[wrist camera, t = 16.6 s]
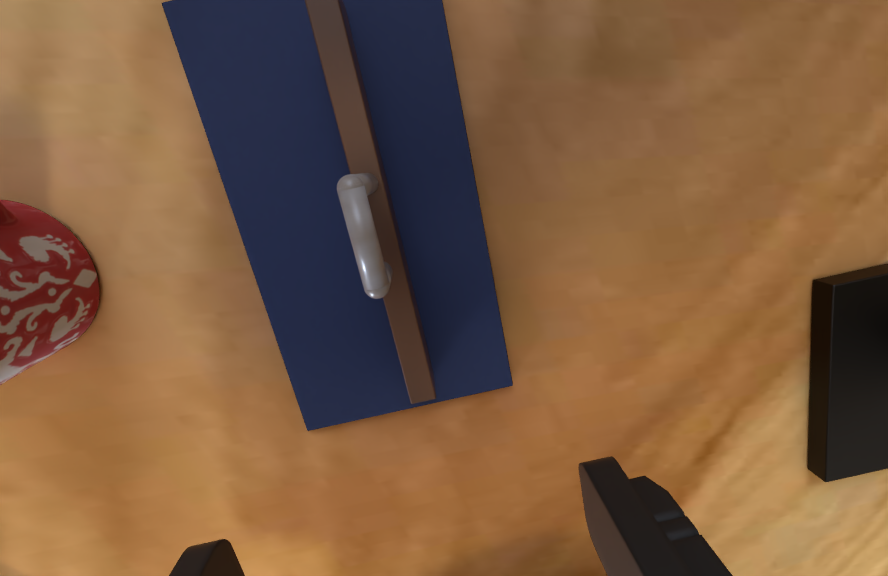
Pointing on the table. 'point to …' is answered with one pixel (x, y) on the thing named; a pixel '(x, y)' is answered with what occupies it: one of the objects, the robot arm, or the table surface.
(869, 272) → the coat stand
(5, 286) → the mug
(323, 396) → the mat
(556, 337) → the table surface
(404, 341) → the hanger
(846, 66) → the table surface
